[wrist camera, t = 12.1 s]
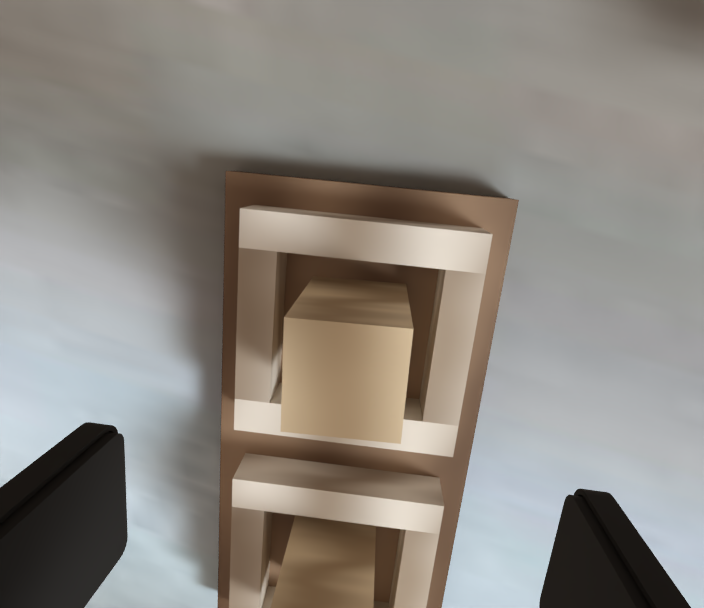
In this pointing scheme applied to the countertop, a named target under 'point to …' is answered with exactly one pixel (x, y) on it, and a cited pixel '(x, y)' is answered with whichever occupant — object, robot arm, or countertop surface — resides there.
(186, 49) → the countertop surface
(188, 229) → the countertop surface
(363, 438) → the tan wooden block
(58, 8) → the countertop surface
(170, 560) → the countertop surface
